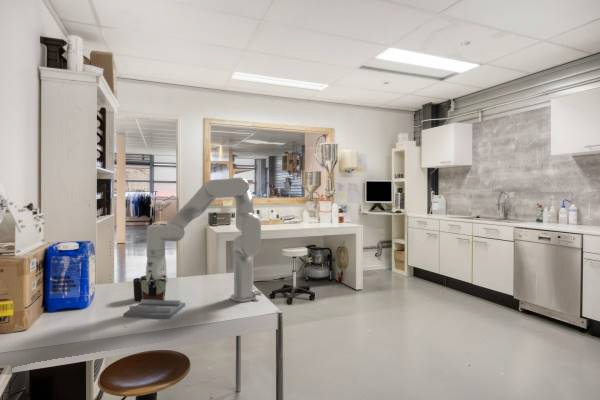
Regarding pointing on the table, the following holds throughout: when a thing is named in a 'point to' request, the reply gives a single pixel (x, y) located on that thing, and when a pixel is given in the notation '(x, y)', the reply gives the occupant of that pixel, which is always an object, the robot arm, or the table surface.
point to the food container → (159, 288)
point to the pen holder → (137, 290)
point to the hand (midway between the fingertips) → (155, 293)
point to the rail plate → (155, 309)
